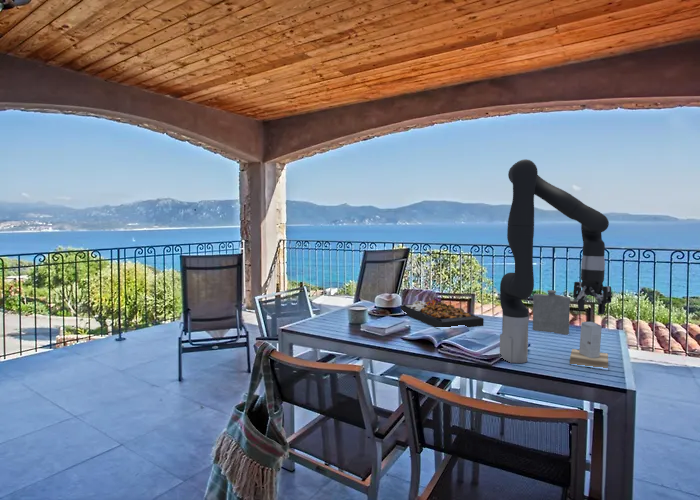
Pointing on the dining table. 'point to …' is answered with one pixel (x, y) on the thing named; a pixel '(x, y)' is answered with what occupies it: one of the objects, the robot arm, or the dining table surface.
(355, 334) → the dining table surface
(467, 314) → the food platter
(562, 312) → the hip flask
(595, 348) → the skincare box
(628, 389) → the dining table surface
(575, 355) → the oak stand
